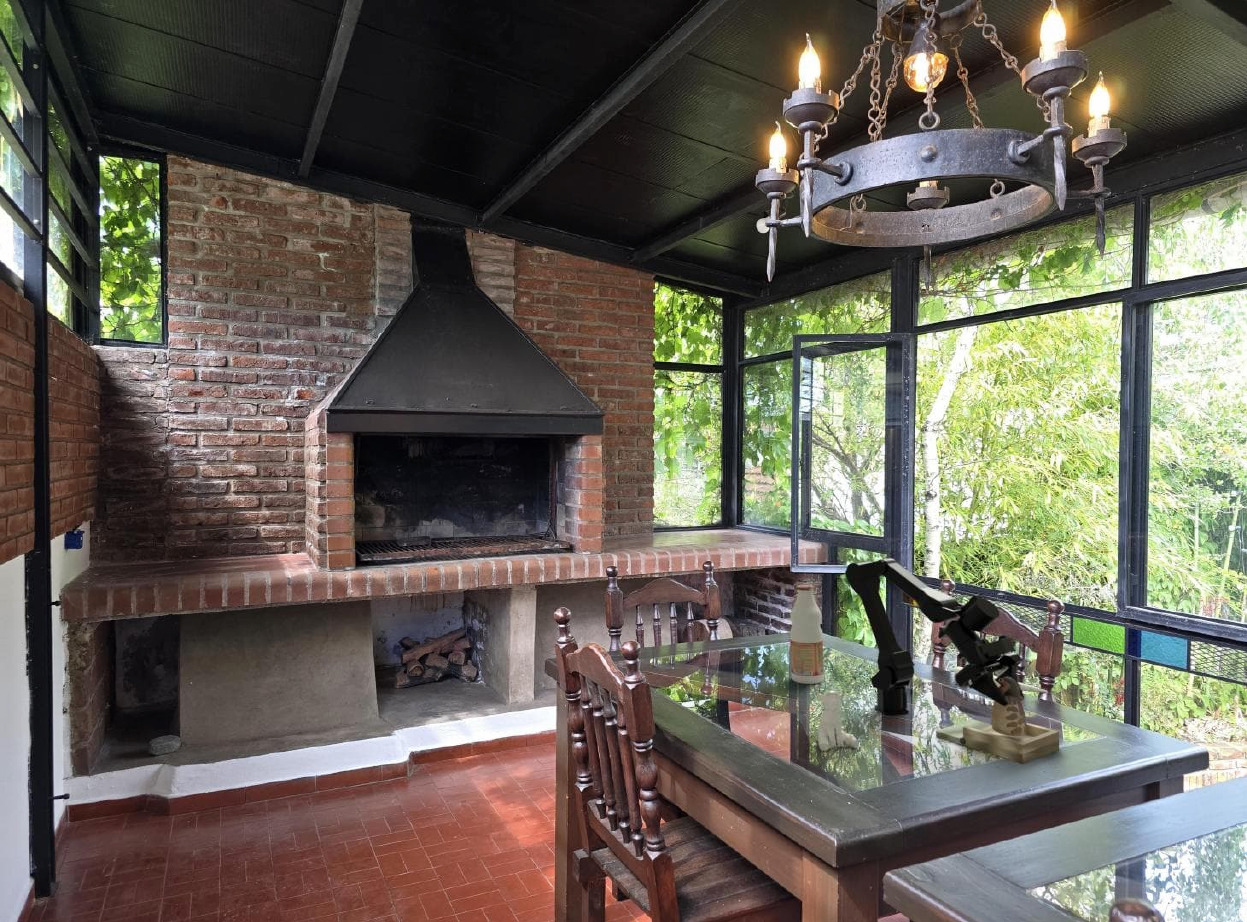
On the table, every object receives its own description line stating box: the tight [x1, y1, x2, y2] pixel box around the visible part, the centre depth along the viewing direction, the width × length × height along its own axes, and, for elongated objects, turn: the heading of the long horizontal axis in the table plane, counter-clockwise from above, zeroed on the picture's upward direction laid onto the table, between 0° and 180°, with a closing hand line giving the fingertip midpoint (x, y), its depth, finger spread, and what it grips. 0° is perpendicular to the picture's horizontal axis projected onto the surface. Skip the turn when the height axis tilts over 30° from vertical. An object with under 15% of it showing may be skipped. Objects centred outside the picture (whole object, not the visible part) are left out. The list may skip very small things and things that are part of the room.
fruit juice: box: [789, 584, 825, 685], centre depth 231 cm, size 9×9×28 cm
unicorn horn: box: [953, 666, 1049, 693], centre depth 219 cm, size 5×24×5 cm, turn 55°
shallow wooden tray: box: [935, 719, 1060, 765], centre depth 177 cm, size 21×14×4 cm
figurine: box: [990, 677, 1027, 736], centre depth 174 cm, size 7×7×12 cm
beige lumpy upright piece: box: [816, 689, 860, 752], centre depth 179 cm, size 10×9×12 cm
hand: (1014, 702), depth 173 cm, fingers closed on figurine, 6 cm apart
